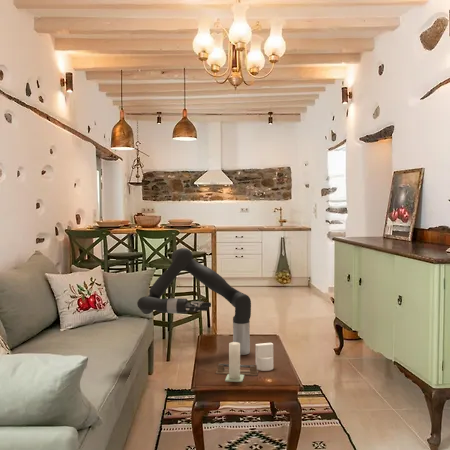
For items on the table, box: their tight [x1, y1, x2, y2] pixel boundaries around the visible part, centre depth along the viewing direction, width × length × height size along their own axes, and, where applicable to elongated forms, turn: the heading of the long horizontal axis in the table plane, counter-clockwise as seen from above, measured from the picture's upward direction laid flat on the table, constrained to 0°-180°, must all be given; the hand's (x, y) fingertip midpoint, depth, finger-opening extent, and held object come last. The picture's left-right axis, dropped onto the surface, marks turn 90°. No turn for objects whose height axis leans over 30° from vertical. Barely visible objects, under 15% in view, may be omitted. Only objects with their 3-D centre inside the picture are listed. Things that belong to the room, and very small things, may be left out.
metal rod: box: [219, 363, 255, 369], centre depth 224 cm, size 1×18×1 cm, turn 81°
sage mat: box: [224, 374, 245, 383], centre depth 217 cm, size 8×8×1 cm
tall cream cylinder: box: [228, 341, 241, 379], centre depth 217 cm, size 5×5×16 cm
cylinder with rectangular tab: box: [254, 342, 274, 372], centre depth 231 cm, size 9×9×12 cm
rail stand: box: [215, 362, 259, 377], centre depth 224 cm, size 5×20×4 cm, turn 81°
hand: (209, 306), depth 227 cm, fingers open, 8 cm apart
